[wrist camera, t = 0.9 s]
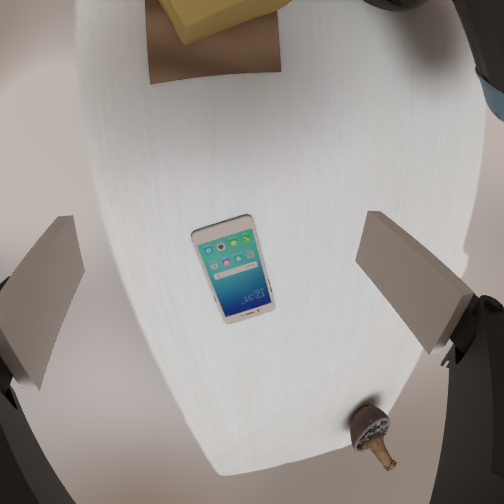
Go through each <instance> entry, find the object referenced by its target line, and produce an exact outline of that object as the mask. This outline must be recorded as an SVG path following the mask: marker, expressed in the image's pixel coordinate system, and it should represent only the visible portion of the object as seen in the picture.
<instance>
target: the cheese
mask: <svg viewBox="0 0 504 504" xmlns="http://www.w3.org/2000/svg"><path fill="white" fill-rule="evenodd" d="M290 1H292V0H159V2H160V4H161V5H162V7H163V9H164V10H165V12H166V14H167V15H168V17H169V19H170V20H171V22H172V24H173V26H174V28H175V30H176V33H177V35H178V37H179V38H180V40H181V42H182V43H183V44H184V45H185V46H188V45H190V44H192V43H195V42H197V41H199V40H201V39H204V38H206V37H209V36H211V35H213V34H216V33H218V32H221V31H223V30H226V29H228V28H231V27H233V26H236V25H238V24H241V23H243V22H246V21H248V20H251V19H254V18H256V17H259V16H263V15H266V14H269V13H272V12H275V11H276V10H278V9H280V8H281V7H283V6H285V5H286V4H288V3H289V2H290Z"/></svg>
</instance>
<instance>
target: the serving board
mask: <svg viewBox="0 0 504 504" xmlns="http://www.w3.org/2000/svg"><path fill="white" fill-rule="evenodd" d="M145 10H146V32H147V48H148V61H149V73H150V84H156V83H162V82H167V81H174V80H180V79H188V78H195V77H204V76H214V75H225V74H239V73H260V72H281V61H280V46H279V32H278V19H277V10H276V11H275V12H272V13H269V14H266V15H263V16H259V17H256V18H254V19H251V20H248V21H246V22H243V23H241V24H238V25H236V26H233V27H231V28H228V29H226V30H223V31H221V32H218V33H216V34H213V35H211V36H209V37H206V38H204V39H201V40H199V41H197V42H195V43H192V44H190V45H188V46H185V45H184V44H183V43H182V42H181V40H180V38H179V37H178V35H177V33H176V30H175V28H174V26H173V24H172V22H171V20H170V19H169V17H168V15H167V14H166V12H165V10H164V9H163V7H162V5H161V4H160V2H159V0H145Z"/></svg>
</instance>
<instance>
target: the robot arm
mask: <svg viewBox="0 0 504 504" xmlns="http://www.w3.org/2000/svg"><path fill="white" fill-rule="evenodd" d="M364 1H366V2H368V3H369V4H371V5H373V6H376V7H378V8H381V9H385V10H389V11H403V10H408V9H413V8H416V7H418V6H420V5H422V4H423V3H425V2H426V1H427V0H364ZM452 2H453V4H454V6H455V8H456V10H457V13H458V15H459V17H460V20H461V22H462V25H463V28H464V30H465V33H466V36H467V39H468V42H469V45H470V48H471V51H472V54H473V57H474V61H475V64H476V67H475V71H476V74H477V76H478V77H479V79H480V82H481V85H482V89H483V92H484V96H485V100H486V103H487V105H488V107H489V108H490V110H491V111H492V113H493V114H494V115H495V116H496V117H497V118H498V119H500V120H501V121H503V122H504V0H452ZM355 261H356V262H357V264H358V265H359V266H360V267H361V268H362V270H363V271H364V272H365V273H366V274H367V276H368V277H369V278H370V279H371V280H372V282H373V283H374V284H375V285H376V287H377V288H378V289H379V290H380V291H381V293H382V294H383V295H384V296H385V298H386V299H387V300H388V301H389V303H390V304H391V305H392V307H393V308H394V309H395V310H396V312H397V313H398V314H399V315H400V317H401V318H402V319H403V321H404V322H405V323H406V325H407V326H408V327H409V329H410V330H411V331H412V333H413V334H414V335H415V337H416V338H417V339H418V341H419V342H420V343H421V345H422V346H423V347H424V349H425V350H426V352H427V353H428V354H429V355H430V354H434V353H436V352H439V351H442V350H443V348H444V347H445V345H446V343H447V342H448V340H449V338H450V339H451V341H452V342H453V343H454V344H453V345H452V347H451V348H450V350H449V351H448V353H447V355H446V356H445V358H444V359H443V361H442V362H441V366H443V365H444V364H445V362H446V361H448V360H449V363H448V365H447V366H446V367H447V368H449V385H448V401H447V412H446V421H445V430H444V436H443V443H442V449H441V455H440V460H439V465H438V471H437V475H436V479H435V484H434V488H433V492H432V496H431V500H430V503H429V504H504V307H503V305H502V304H500V302H498V301H497V300H496V299H494V298H492V297H490V296H487V295H482V296H480V297H479V298H478V297H477V296H476V295H475V294H474V292H473V291H472V290H471V289H470V288H469V287H468V286H467V285H466V284H465V283H464V282H463V281H462V280H461V279H460V278H459V277H458V276H456V275H455V274H454V273H453V272H452V271H451V270H450V269H449V268H448V267H447V266H446V265H444V264H443V263H442V262H441V261H440V260H439V259H438V258H437V257H435V256H434V255H433V254H432V253H431V252H430V251H429V250H427V249H426V248H425V247H424V246H423V245H422V244H420V243H419V242H418V241H417V240H416V239H414V238H413V237H412V236H411V235H410V234H408V233H407V232H406V231H405V230H403V229H402V228H401V227H400V226H398V225H397V224H396V223H395V222H393V221H392V220H391V219H390V218H388V217H387V216H386V215H384V214H383V213H382V212H381V211H368V212H367V217H366V221H365V225H364V229H363V233H362V237H361V241H360V245H359V249H358V253H357V256H356V260H355ZM84 272H85V269H84V265H83V261H82V257H81V252H80V248H79V243H78V239H77V234H76V228H75V223H74V218H73V216H60V217H57V218H56V220H55V221H54V222H53V223H52V224H51V225H50V227H49V228H48V229H47V230H46V231H45V233H44V234H43V235H42V236H41V237H40V238H39V240H38V241H37V242H36V244H35V245H34V246H33V247H32V248H31V250H30V251H29V252H28V253H27V255H26V256H25V257H24V259H23V260H22V261H21V263H20V264H19V265H18V267H17V268H16V270H15V271H14V272H13V274H12V275H11V276H9V277H8V278H6V279H5V280H4V281H3V282H2V283H1V284H0V504H76V503H75V502H74V500H73V499H72V498H71V496H70V495H69V493H68V492H67V490H66V489H65V487H64V486H63V484H62V483H61V481H60V480H59V478H58V477H57V475H56V473H55V472H54V470H53V469H52V467H51V465H50V464H49V462H48V460H47V459H46V457H45V455H44V453H43V451H42V450H41V448H40V446H39V444H38V442H37V440H36V438H35V436H34V434H33V432H32V430H31V428H30V426H29V424H28V422H27V420H26V418H25V415H24V413H23V411H22V408H21V406H20V404H19V402H18V399H17V397H16V394H15V392H14V390H13V389H12V387H11V386H10V383H11V380H12V378H13V377H14V378H15V380H16V381H17V382H18V384H19V385H20V387H21V388H26V389H31V390H37V391H39V390H40V388H41V384H42V381H43V377H44V374H45V371H46V368H47V365H48V362H49V359H50V356H51V353H52V350H53V347H54V344H55V342H56V339H57V336H58V333H59V331H60V328H61V326H62V323H63V321H64V318H65V316H66V313H67V311H68V308H69V306H70V303H71V301H72V299H73V296H74V294H75V292H76V290H77V287H78V285H79V283H80V281H81V279H82V276H83V274H84Z"/></svg>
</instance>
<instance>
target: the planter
mask: <svg viewBox="0 0 504 504" xmlns="http://www.w3.org/2000/svg"><path fill="white" fill-rule="evenodd" d="M389 426H390V420H389V418H388V416H387V415H386V414H385V413H384V412H383V411H382V410H380V409H379V408H377V407H375V406H367V405H365V406H362V407H361V408H360V409H359V410H358V411H357V412H356V413H355V415H354V417H353V419H352V423H351V426H350V434H351V441H352V445H353V448H354V450H355V451H358V452H363V451H365V450H367V449H368V448H369V449H370V450H371V451H372V452H373V453H374V454H375V455H376V457H377V458H378V460H379V461H380V462H381V464H383V466H384V469H386V470H387V471H390V470H392V469H393V468H395V466H396V462H395V460H392V458H391V456H390V455H389V453H388V451H387V449H386V447H385V445H384V442H383V437H384V435H386V433H387V430H388V428H389Z"/></svg>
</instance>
